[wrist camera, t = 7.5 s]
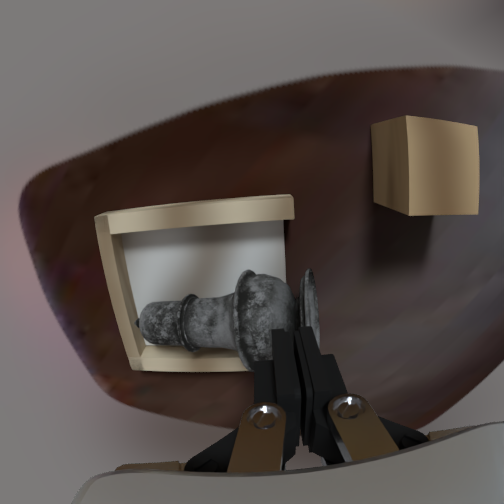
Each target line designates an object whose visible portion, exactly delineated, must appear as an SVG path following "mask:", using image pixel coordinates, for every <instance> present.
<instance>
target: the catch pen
mask: <svg viewBox="0 0 504 504" xmlns="http://www.w3.org/2000/svg"><path fill="white" fill-rule="evenodd" d="M288 219H294V202H293V197H292V196H291V195H290V194H287V195H270V196H255V197H242V198H229V199H217V200H206V201H195V202H185V203H175V204H166V205H157V206H148V207H140V208H132V209H124V210H117V211H109V212H105V213H102V214H100V215H97V216H95V217H94V220H95V226H96V232H97V237H98V243H99V248H100V253H101V258H102V263H103V268H104V272H105V277H106V281H107V285H108V289H109V293H110V297H111V301H112V305H113V309H114V313H115V316H116V320H117V323H118V327H119V330H120V334H121V337H122V340H123V343H124V347H125V350H126V353H127V356H128V359H129V362H130V365H131V368H132V370H145V371H170V372H227V371H248V370H247V369H246V368H245V367H244V366H243V364H242V362H241V360H240V358H239V354H238V351H235V350H231V349H227V348H206V347H201V348H200V349H199V350H198V351H196V352H190V351H188V350H187V349H185V348H184V346H173V345H155V344H151V343H149V342H148V341H146V340H145V339H144V337H143V336H142V334H141V332H140V328H138V327H137V326H136V325H135V324H134V322H135V321H136V320H137V319H138V318H140V314H141V312H142V310H143V308H144V307H145V306H146V305H147V304H149V303H152V302H160V301H182V299H183V298H184V297H185V296H186V295H188V294H195V295H196V296H198V298H213V297H221V296H225V295H228V294H231V293H234V292H235V288H236V285H237V281H238V278H239V277H240V275H241V274H242V272H243V271H245V270H248V269H249V270H252V271H254V272H255V274H267V275H270V276H274V277H277V278H280V279H281V280H282V281H283V282H285V283H286V272H285V247H284V226H283V220H288Z"/></svg>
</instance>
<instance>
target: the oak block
mask: <svg viewBox="0 0 504 504" xmlns="http://www.w3.org/2000/svg"><path fill="white" fill-rule="evenodd" d="M371 139H372V157H373V191H374V202H375V203H377V204H380V205H383V206H385V207H388V208H390V209H393V210H396V211H398V212H401V213H403V214H406V215H408V216H418V215H463V214H478V205H479V146H478V130H477V126H472V125H467V124H461V123H456V122H450V121H444V120H437V119H430V118H423V117H415V116H402V117H398V118H394V119H391V120H387V121H383V122H379V123H376V124H372V125H371Z"/></svg>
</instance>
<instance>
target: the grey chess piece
mask: <svg viewBox="0 0 504 504" xmlns="http://www.w3.org/2000/svg"><path fill="white" fill-rule="evenodd" d="M134 324H135V325H136V326H137V327H138V328H140V332H141V334H142V336H143V337H144V339H145V340H146V341H148V342H149V343H151V344H155V345H173V346H184V348H185V349H187V350H188V351H190V352H196V351H198V350H199V349H200V348H201V347H206V348H227V349H231V350H235V351H238V354H239V358H240V360H241V362H242V364H243V366H244V367H245V368H246V369H247V370H248V371H250V372H254V361H259V360H273V357H272V337H271V329H281V328H284V330H285V332H286V331H290V336H291V341H292V346H293V331H298V327H305V326H312V328H313V332H314V335H315V338H316V341H317V344H318V347H319V313H318V302H317V293H316V286H315V280H314V276H313V272H312V270H311V269H307V271H306V272H305V276H303V278H302V279H301V282H300V292H299V297H298V298H297V299H296V300H295V298H294V295H293V293H292V291H291V289H290V287H289V286H288V285H287V284H286V283H285V282H283V281H282V280H281V279H280V278H277V277H274V276H270V275H267V274H255V272H254V271H252V270H249V269H248V270H245V271H243V272H242V274H241V275H240V277H239V278H238V281H237V285H236V288H235V292H234V293H231V294H228V295H225V296H221V297H213V298H198V296H196V295H195V294H188V295H186V296H185V297H184V298H183V299H182V301H160V302H152V303H149V304H147V305H146V306H145V307H144V308H143V310H142V312H141V314H140V318H138V319H137V320H136V321H135V322H134Z"/></svg>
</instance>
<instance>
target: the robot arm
mask: <svg viewBox="0 0 504 504" xmlns="http://www.w3.org/2000/svg"><path fill="white" fill-rule="evenodd" d="M271 337H272V357H273V360H259V361H254V404H253V405H251V406H249V407H248V408H247V409H246V410H245V411H244V413H243V415H242V418H241V422H240V426H239V427H238V428H237V429H235V430H234V431H232V432H231V433H229V434H228V435H227V436H225V437H224V438H222V439H221V440H219V441H218V442H216V443H215V444H213V445H211V446H210V447H208V448H207V449H205V450H204V451H202V452H200V453H199V454H197V455H196V456H194V457H192V458H191V459H190V460H189V461H188V462H186V463H179V461H169V462H157V463H135V464H124V465H121V466H119V467H117V468H116V469H115V471H110V472H106V473H102V474H98V475H96V476H94V477H92V478H90V479H89V480H88V481H86V482H85V483H84V484H83V485H82V487H81V488H80V489H79V491H78V492H77V494H76V496H75V497H74V499H73V501H72V503H71V504H504V421H503V422H492V423H486V424H481V425H477V426H466V427H460V428H453V429H447V430H440V431H432V432H429V433H428V435H424V434H423V433H421V432H419V431H416V430H414V429H411V428H408V427H405V426H402V425H400V424H397V423H394V422H392V421H389V420H386V419H384V418H381V417H379V416H377V415H376V413H375V412H374V410H373V409H372V407H371V406H370V404H369V402H368V401H367V400H366V399H365V398H364V397H362V396H360V395H357V394H351V393H347V390H346V387H345V384H344V382H343V379H342V376H341V373H340V371H339V368H338V365H337V363H336V360H335V357H334V355H333V354H328V355H321V353H320V350H319V347H318V344H317V341H316V338H315V335H314V332H313V328H312V326H305V327H298V331H293V346H292V341H291V336H290V331H286V332H285V330H284V328H281V329H271ZM300 429H301V435H302V441H303V446H305V445H308V447H309V452H313V453H315V454H317V455H319V456H321V463H322V465H323V466H321V467H313V468H306V469H296V470H286V462H287V461H288V460H289V459H291V458H292V457H293V456H294V455H295V450H296V446H299V438H300Z"/></svg>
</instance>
